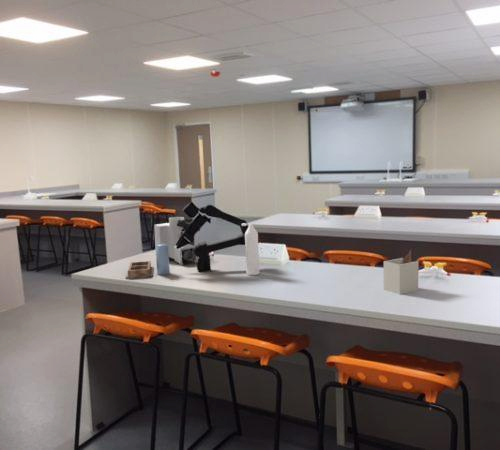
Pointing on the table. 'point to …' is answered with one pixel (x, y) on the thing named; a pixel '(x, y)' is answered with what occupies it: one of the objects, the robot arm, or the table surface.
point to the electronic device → (174, 241)
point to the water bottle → (251, 250)
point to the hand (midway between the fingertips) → (176, 246)
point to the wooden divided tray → (139, 270)
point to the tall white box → (401, 275)
